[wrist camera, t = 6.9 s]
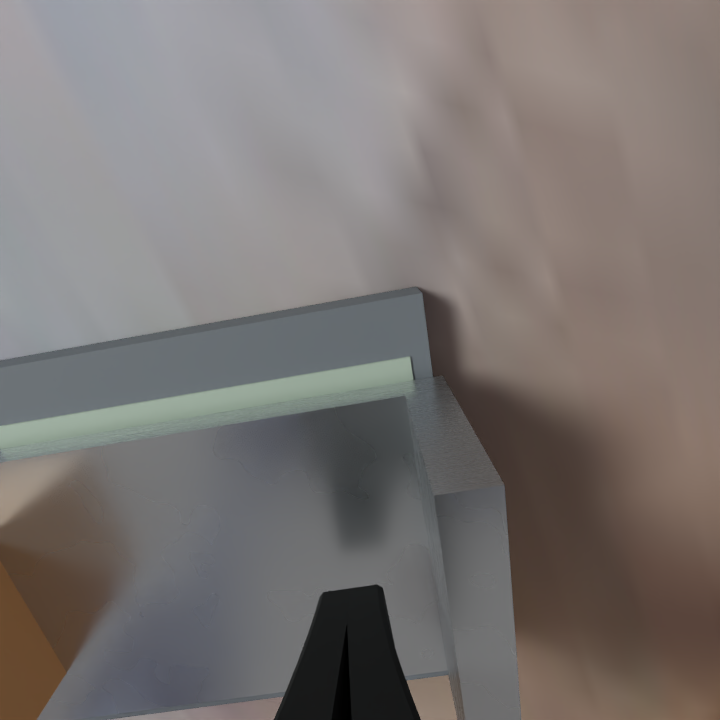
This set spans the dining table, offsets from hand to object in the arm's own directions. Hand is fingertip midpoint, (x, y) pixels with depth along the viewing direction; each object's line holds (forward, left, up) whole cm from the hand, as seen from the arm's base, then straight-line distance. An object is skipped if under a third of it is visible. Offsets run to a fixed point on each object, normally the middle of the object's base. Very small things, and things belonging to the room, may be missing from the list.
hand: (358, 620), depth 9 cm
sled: (0, +7, -2) cm, 7 cm away
